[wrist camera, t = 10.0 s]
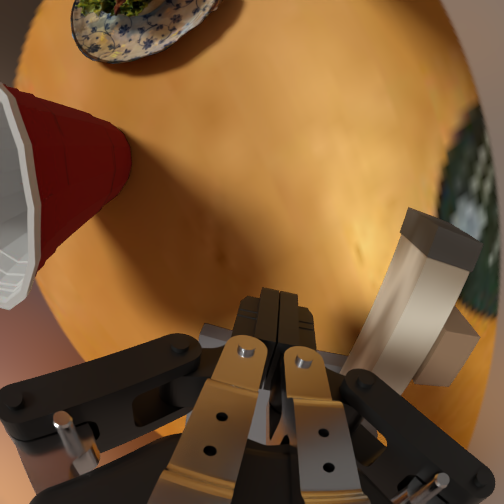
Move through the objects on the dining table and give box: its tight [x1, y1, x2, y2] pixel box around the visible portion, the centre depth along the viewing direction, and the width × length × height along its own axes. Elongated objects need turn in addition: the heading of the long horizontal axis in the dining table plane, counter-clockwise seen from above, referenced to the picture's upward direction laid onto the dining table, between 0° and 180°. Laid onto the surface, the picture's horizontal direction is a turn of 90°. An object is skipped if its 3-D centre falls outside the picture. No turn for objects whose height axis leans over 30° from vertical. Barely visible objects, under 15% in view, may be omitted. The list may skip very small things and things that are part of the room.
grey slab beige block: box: [185, 306, 480, 445], centre depth 21 cm, size 21×17×6 cm
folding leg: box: [339, 207, 483, 438], centre depth 17 cm, size 16×3×5 cm, turn 166°
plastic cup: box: [0, 82, 132, 310], centre depth 14 cm, size 11×11×12 cm
